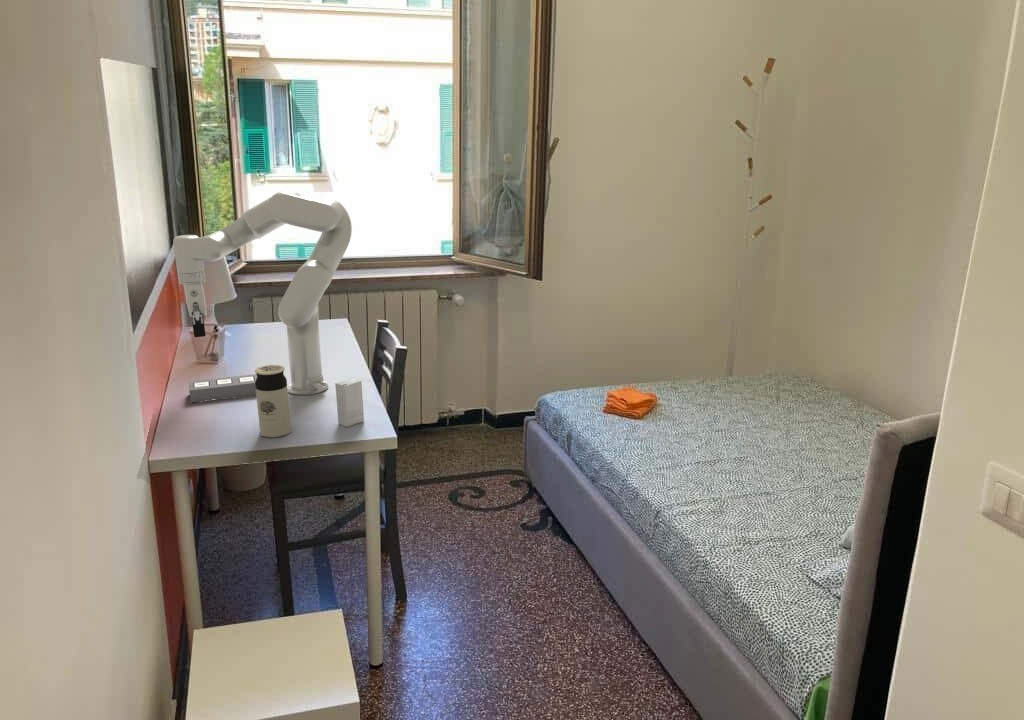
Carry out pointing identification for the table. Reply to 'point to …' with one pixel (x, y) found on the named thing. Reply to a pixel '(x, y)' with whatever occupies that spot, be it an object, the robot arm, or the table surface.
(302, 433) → the table surface
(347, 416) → the skincare box
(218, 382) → the middle button
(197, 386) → the button
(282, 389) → the travel mug
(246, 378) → the button
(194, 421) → the table surface
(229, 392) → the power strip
